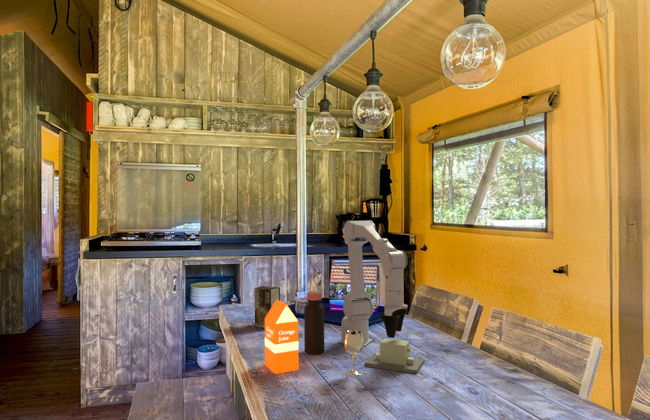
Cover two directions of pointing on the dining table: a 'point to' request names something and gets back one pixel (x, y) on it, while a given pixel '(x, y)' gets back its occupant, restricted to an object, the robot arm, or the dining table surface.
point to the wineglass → (353, 347)
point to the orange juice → (281, 339)
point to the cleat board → (411, 366)
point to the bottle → (314, 324)
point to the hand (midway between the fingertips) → (394, 334)
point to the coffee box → (264, 302)
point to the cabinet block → (394, 351)
